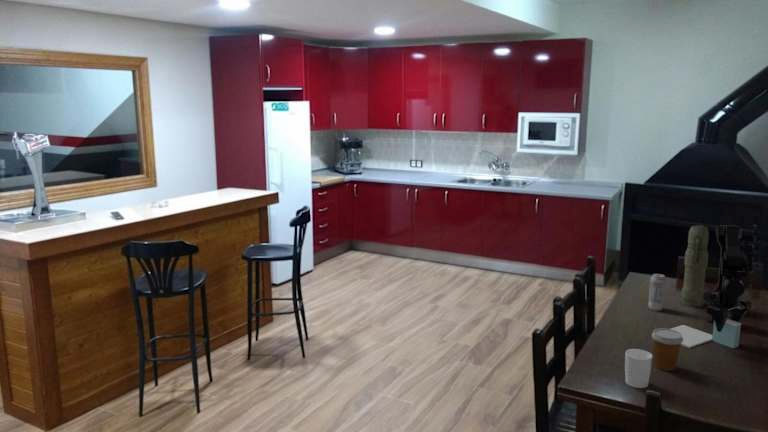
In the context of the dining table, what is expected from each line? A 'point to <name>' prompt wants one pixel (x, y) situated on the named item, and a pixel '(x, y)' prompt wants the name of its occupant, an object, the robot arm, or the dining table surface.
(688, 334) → the mat
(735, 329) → the slab
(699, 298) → the thermos
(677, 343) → the disposable coffee cup
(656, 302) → the energy drink can
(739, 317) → the robot arm
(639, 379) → the white cup
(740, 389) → the dining table surface
